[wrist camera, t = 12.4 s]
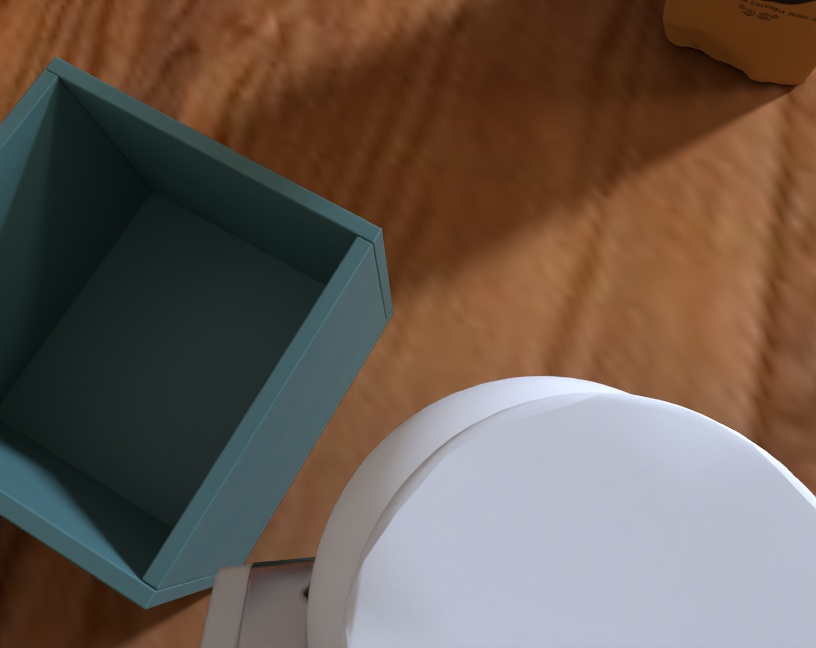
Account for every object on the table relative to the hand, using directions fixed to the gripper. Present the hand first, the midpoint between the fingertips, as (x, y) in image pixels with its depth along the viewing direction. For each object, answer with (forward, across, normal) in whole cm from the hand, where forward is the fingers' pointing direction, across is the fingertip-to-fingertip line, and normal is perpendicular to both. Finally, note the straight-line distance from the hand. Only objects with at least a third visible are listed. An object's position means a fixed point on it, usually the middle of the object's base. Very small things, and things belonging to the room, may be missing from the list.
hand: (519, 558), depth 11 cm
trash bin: (+20, +11, +8) cm, 24 cm away
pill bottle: (+4, 0, +5) cm, 6 cm away
